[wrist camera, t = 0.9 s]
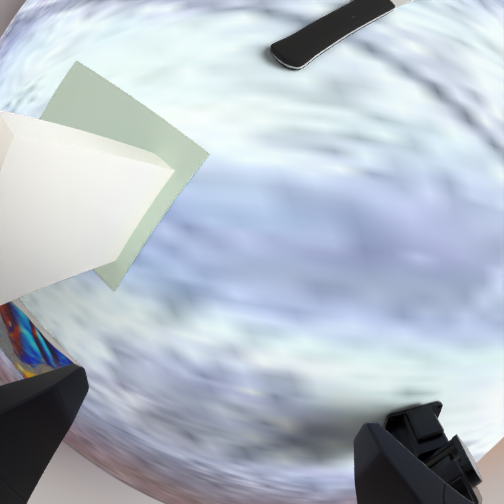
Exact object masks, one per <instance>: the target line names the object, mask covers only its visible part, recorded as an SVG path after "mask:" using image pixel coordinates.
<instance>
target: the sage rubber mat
mask: <svg viewBox="0 0 504 504" xmlns="http://www.w3.org/2000/svg"><path fill="white" fill-rule="evenodd" d="M40 120H44V121H48V122H52V123H56V124H60V125H64V126H67V127H71V128H75V129H78V130H82V131H85V132H89V133H92V134H96V135H99V136H102V137H106V138H109V139H112V140H115V141H119V142H122V143H125V144H128V145H131V146H134V147H137V148H140V149H143V150H146V151H149V152H152V153H154V154H156V155H157V156H158V157H159V158H160V159H162V160H163V161H164V162H165V163H167V164H168V165H169V166H170V167H171V168H173V169H174V170H175V171H174V173H173V174H172V176H171V177H170V178H169V180H168V181H167V182H166V184H165V185H164V187H163V188H162V189H161V191H160V192H159V194H158V195H157V197H156V198H155V200H154V201H153V202H152V204H151V205H150V207H149V208H148V210H147V211H146V213H145V214H144V216H143V217H142V219H141V221H140V222H139V224H138V225H137V227H136V228H135V230H134V231H133V233H132V235H131V236H130V238H129V240H128V241H127V243H126V244H125V246H124V248H123V249H122V251H121V253H120V255H119V256H118V258H117V260H116V261H114V262H111V263H108V264H105V265H102V266H100V267H97V268H94V269H93V270H94V271H95V272H96V273H97V274H98V275H99V276H100V278H101V279H102V280H103V281H104V282H105V283H106V284H107V285H108V286H109V287H110V288H111V289H112V290H113V291H116V289H117V288H118V286H119V284H120V283H121V281H122V279H123V278H124V276H125V274H126V273H127V271H128V270H129V268H130V266H131V265H132V263H133V262H134V260H135V258H136V257H137V255H138V254H139V252H140V251H141V249H142V247H143V246H144V244H145V243H146V241H147V240H148V238H149V237H150V235H151V234H152V232H153V231H154V229H155V228H156V226H157V225H158V224H159V222H160V221H161V219H162V218H163V216H164V215H165V213H166V212H167V211H168V209H169V208H170V206H171V205H172V204H173V202H174V201H175V199H176V198H177V197H178V195H179V194H180V193H181V191H182V190H183V189H184V187H185V186H186V185H187V183H188V182H189V181H190V179H191V178H192V177H193V175H194V174H195V173H196V172H197V170H198V169H199V168H200V166H201V165H202V164H203V163H204V161H205V160H206V159H207V158H208V156H209V155H210V154H209V153H208V152H206V151H205V150H204V149H203V148H201V147H200V146H199V145H197V144H196V143H195V142H193V141H192V140H191V139H189V138H188V137H187V136H185V135H184V134H183V133H181V132H180V131H179V130H177V129H176V128H175V127H173V126H172V125H171V124H169V123H168V122H167V121H165V120H164V119H162V118H161V117H160V116H158V115H157V114H155V113H154V112H153V111H151V110H150V109H148V108H147V107H146V106H144V105H143V104H141V103H140V102H138V101H137V100H136V99H134V98H133V97H131V96H130V95H128V94H127V93H125V92H124V91H123V90H121V89H120V88H118V87H117V86H115V85H114V84H112V83H111V82H109V81H108V80H106V79H105V78H103V77H102V76H100V75H98V74H97V73H95V72H94V71H92V70H91V69H89V68H88V67H86V66H84V65H83V64H81V63H80V62H78V61H76V62H75V63H74V65H73V66H72V67H71V69H70V70H69V72H68V73H67V75H66V76H65V77H64V79H63V80H62V82H61V84H60V85H59V87H58V88H57V90H56V91H55V93H54V95H53V96H52V98H51V100H50V101H49V103H48V105H47V106H46V108H45V110H44V112H43V114H42V115H41V117H40Z"/></svg>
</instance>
